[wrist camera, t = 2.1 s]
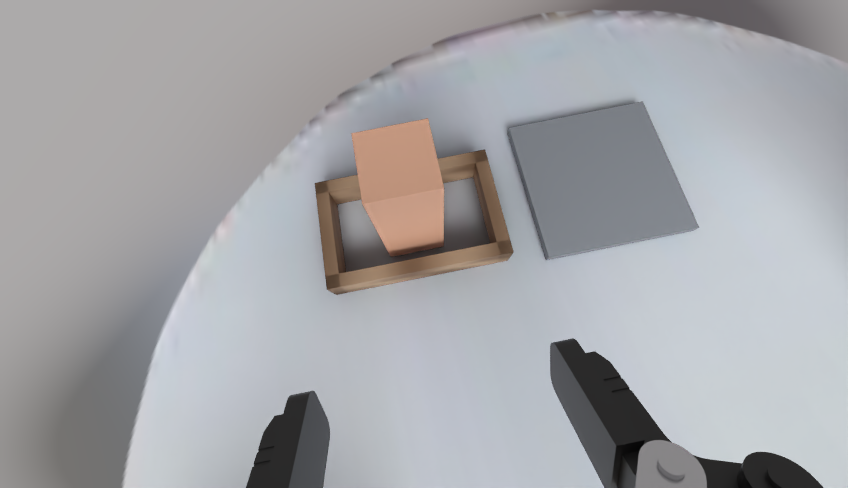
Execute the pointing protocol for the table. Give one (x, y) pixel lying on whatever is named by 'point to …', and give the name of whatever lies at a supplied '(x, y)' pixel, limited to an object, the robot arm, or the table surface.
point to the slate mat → (599, 181)
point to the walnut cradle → (419, 267)
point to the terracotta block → (401, 185)
